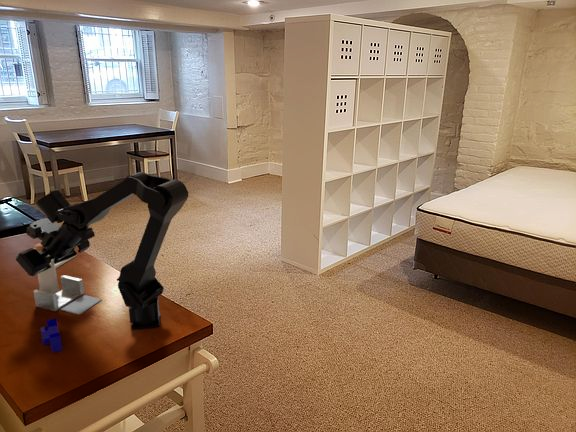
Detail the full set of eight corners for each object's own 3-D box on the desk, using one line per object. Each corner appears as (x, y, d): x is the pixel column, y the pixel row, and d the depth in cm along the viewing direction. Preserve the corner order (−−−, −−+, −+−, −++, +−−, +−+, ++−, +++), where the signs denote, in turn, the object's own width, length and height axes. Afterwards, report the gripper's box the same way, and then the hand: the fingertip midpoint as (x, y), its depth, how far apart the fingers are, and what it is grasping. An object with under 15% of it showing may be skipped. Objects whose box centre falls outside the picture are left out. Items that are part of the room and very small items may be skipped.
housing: (84, 293, 120) (82, 279, 119) (55, 311, 111) (52, 296, 110) (66, 289, 122) (63, 275, 121) (36, 306, 113) (33, 291, 112)
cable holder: (41, 337, 101) (39, 322, 100) (58, 332, 103) (56, 318, 102) (44, 355, 95) (42, 340, 94) (62, 350, 97) (59, 335, 96)
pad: (101, 300, 117) (101, 299, 117) (79, 314, 110) (79, 313, 110) (84, 295, 119) (84, 294, 119) (61, 310, 112) (60, 309, 112)
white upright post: (60, 285, 120) (53, 241, 115) (56, 293, 116) (48, 247, 111) (43, 287, 119) (35, 242, 114) (38, 295, 115) (29, 248, 110)
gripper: (75, 201, 117) (50, 233, 124) (14, 223, 100) (-11, 258, 107) (102, 232, 117) (76, 262, 124) (45, 259, 100) (18, 292, 107)
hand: (42, 267), depth 115 cm, fingers closed on white upright post, 4 cm apart
